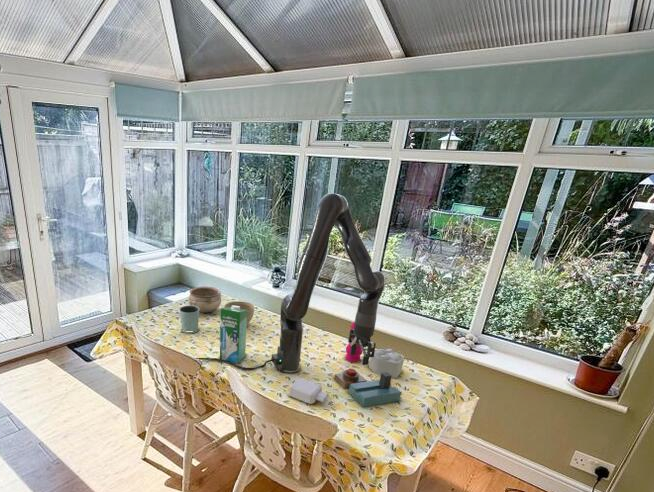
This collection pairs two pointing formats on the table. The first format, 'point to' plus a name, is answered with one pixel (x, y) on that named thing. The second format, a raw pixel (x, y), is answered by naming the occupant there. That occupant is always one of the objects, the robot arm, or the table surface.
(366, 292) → the robot arm
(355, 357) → the pepper mill
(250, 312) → the planter bowl
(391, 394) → the control base
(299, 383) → the charger
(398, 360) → the lumpy-topped squat cylinder
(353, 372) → the button
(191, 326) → the grey-green cylindrical pot
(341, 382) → the panel
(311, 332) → the table surface
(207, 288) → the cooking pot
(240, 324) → the milk carton
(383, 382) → the slider
